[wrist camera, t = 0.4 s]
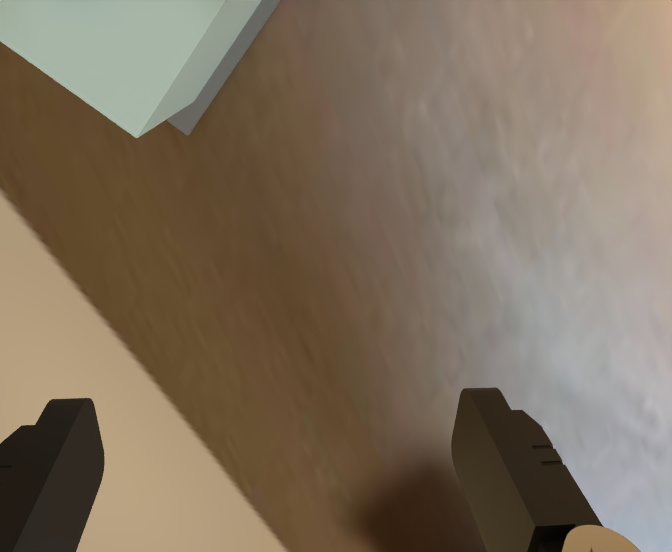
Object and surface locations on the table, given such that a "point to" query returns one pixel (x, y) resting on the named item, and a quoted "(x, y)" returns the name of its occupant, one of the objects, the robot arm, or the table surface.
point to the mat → (223, 68)
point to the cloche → (126, 50)
